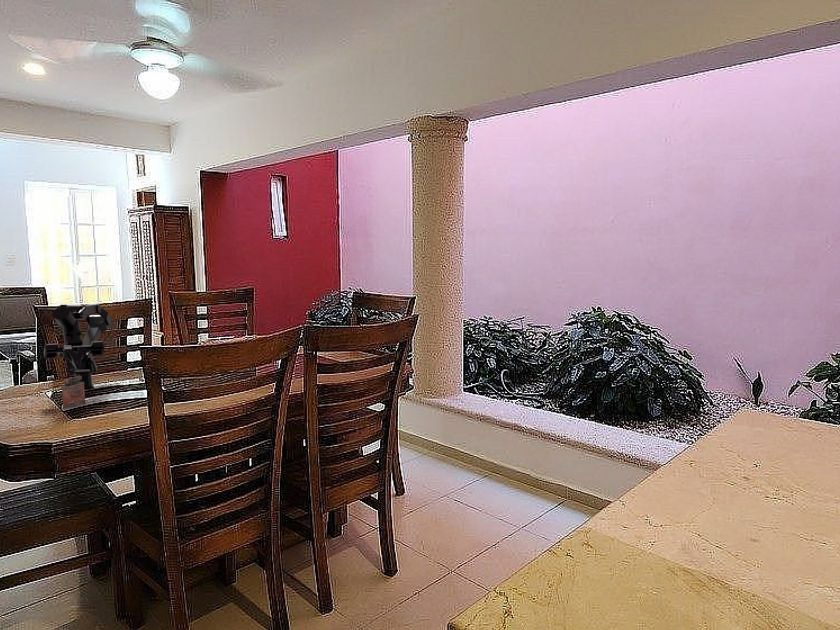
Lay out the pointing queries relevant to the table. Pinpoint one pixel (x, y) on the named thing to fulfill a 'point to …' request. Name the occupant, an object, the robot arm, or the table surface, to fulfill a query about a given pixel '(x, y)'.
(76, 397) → the lighter
